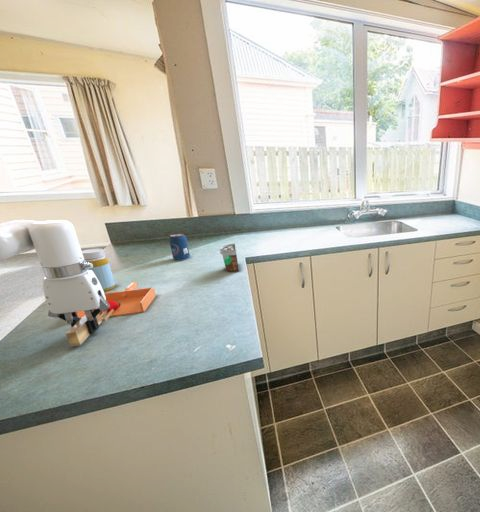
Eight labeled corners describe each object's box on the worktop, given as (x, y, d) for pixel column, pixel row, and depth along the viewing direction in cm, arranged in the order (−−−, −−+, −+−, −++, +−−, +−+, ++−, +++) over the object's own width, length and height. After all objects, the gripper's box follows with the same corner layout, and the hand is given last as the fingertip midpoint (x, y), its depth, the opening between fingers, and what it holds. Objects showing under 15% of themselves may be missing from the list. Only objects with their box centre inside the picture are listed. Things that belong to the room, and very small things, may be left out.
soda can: (169, 260, 141) (164, 235, 138) (183, 256, 148) (178, 232, 144) (180, 261, 139) (175, 237, 136) (193, 257, 146) (189, 233, 142)
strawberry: (100, 308, 92) (113, 303, 95) (108, 315, 92) (121, 310, 95) (102, 301, 91) (115, 296, 94) (110, 308, 90) (123, 303, 94)
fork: (66, 347, 75) (60, 334, 73) (100, 313, 90) (96, 301, 89) (84, 344, 76) (79, 331, 75) (114, 311, 92) (111, 299, 90)
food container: (223, 265, 135) (219, 244, 131) (237, 263, 137) (234, 243, 134) (223, 274, 124) (219, 252, 121) (239, 272, 127) (235, 250, 124)
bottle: (116, 284, 114) (104, 246, 109) (115, 290, 109) (104, 251, 104) (91, 288, 110) (78, 250, 105) (89, 295, 105) (76, 255, 100)
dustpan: (144, 312, 94) (141, 302, 93) (74, 322, 87) (70, 312, 86) (163, 285, 113) (161, 277, 112) (107, 292, 107) (105, 283, 106)
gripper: (111, 261, 81) (129, 320, 87) (33, 268, 75) (57, 331, 81) (98, 270, 75) (118, 333, 80) (12, 279, 69) (39, 346, 74)
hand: (87, 332), depth 81 cm, fingers closed on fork, 2 cm apart
